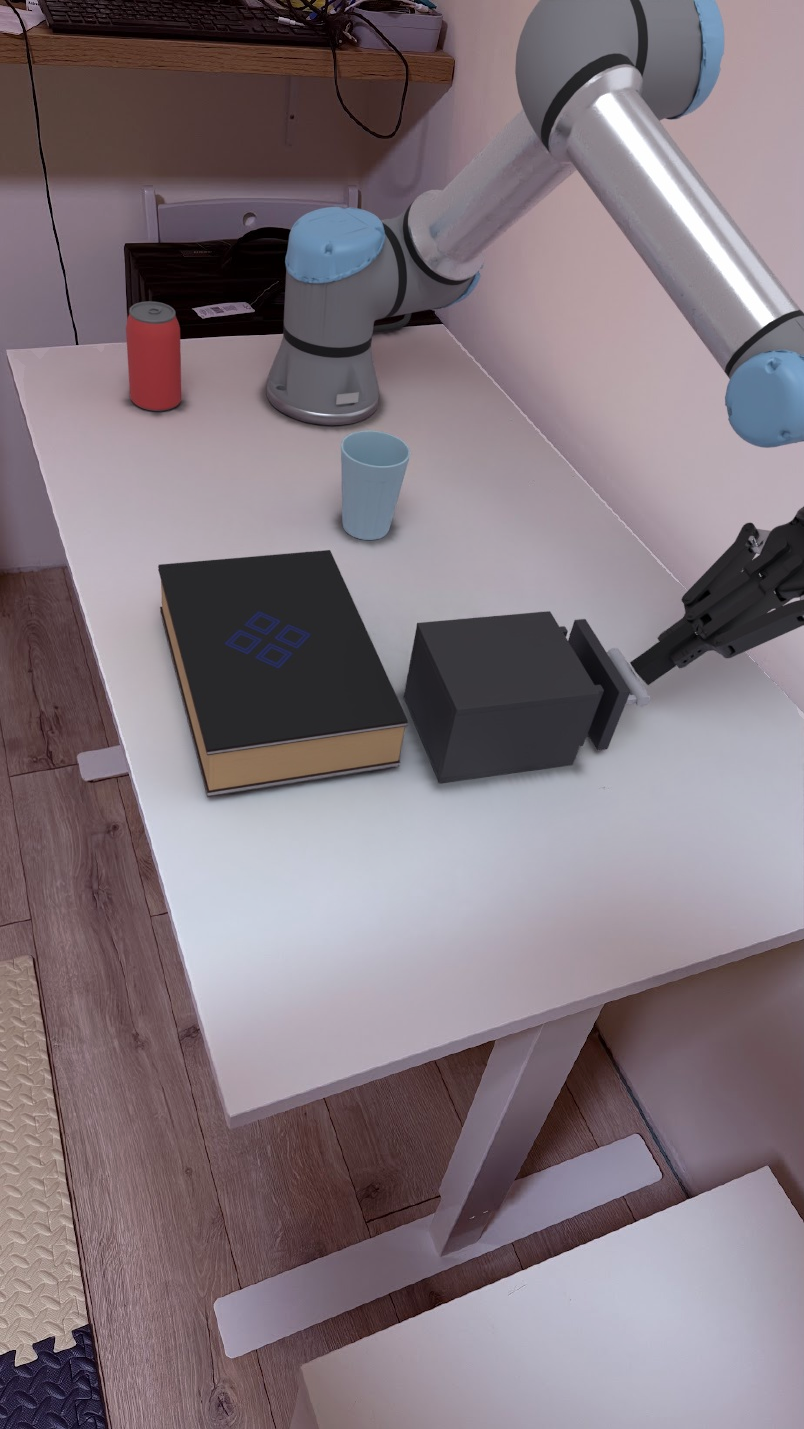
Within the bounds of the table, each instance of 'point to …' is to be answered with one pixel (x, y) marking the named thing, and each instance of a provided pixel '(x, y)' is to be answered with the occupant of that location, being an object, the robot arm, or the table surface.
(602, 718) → the drawer
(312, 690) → the book
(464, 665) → the cabinet
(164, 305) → the beer can
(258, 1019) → the table surface
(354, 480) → the cup
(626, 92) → the robot arm
